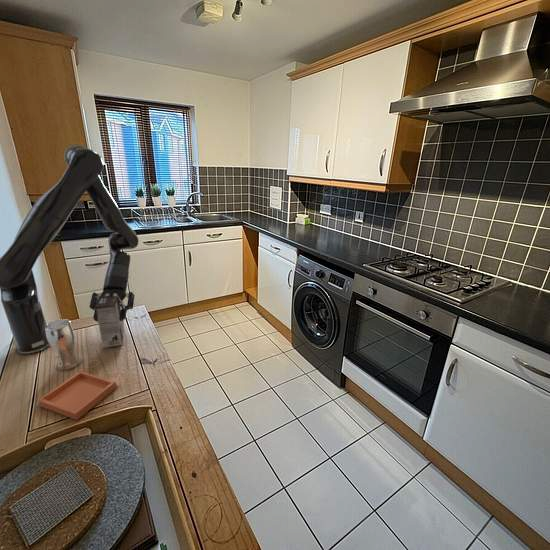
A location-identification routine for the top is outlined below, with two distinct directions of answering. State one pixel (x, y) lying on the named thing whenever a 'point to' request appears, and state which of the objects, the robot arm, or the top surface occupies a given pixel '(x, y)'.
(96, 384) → the tray
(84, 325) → the top surface
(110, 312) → the coffee box
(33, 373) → the top surface
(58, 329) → the beer glass
